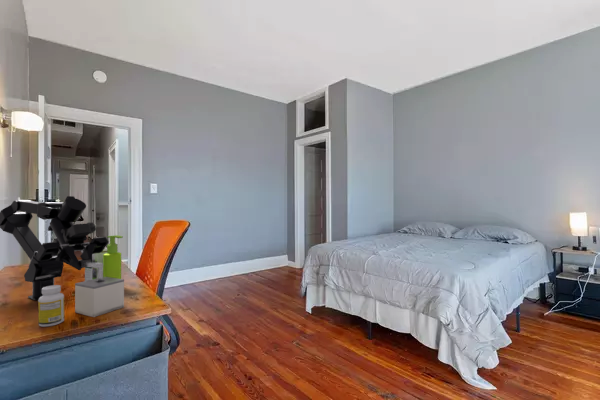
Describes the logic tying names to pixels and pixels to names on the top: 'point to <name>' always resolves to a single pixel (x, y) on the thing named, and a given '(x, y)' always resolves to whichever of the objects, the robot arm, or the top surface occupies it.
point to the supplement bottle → (51, 306)
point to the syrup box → (93, 272)
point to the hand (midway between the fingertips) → (86, 268)
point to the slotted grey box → (99, 296)
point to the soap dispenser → (112, 259)
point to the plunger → (88, 263)
